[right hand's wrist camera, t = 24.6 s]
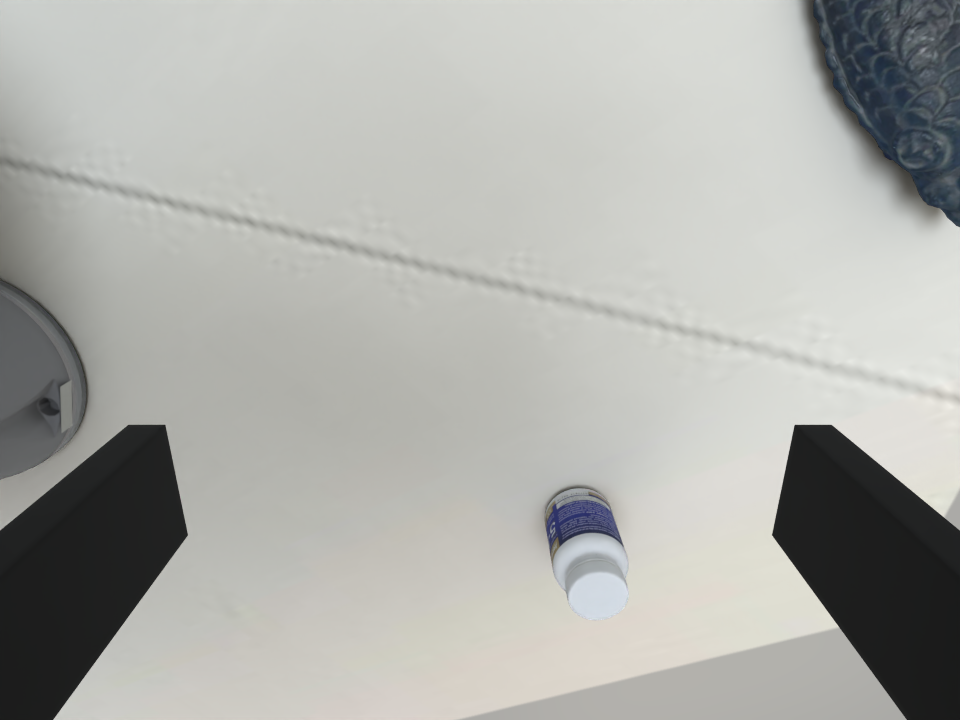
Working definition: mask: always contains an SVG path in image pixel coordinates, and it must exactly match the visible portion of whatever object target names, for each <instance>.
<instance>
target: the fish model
mask: <svg viewBox="0 0 960 720" xmlns="http://www.w3.org/2000/svg"><path fill="white" fill-rule="evenodd" d="M813 7H814V17H815V18H816V19H817V21H818V23H819V28H820V34H819V37H820V39H821V41H822V43H823V44H824V46H825V47H826V51H825V58H826V62H827V66H828V67H829V69H830V70H831V71H832V72H833V74H834V80H833V85H834V87H835V88H836V89H837V90H838V91H839V92H840V93H841V94H842V96H843V99H844V103H845V105H846V106H847V107H848V108H849V109H850V110H851V111H853V112H854V113H856V115H857V116H858V121H859V123H860V125H861V126H863V127H864V128H865V129H866V130H867V131H868V132H869V133H870V134H871V135H872V136H873V137H874V138H875V140H876V142H877V143H878V145H879V146H878V147H879V148H880V149H882V150H883V153H884V155H885V157H886V158H888V159H889V160H894V161H895V162H896V163H897V164H898V165H900V166H901V167H902V168H904V169H905V170H907V171H908V172H909V173H910V174H911V176H912V178H913V180H914V182H915V184H916V187H917V190H918V192H919V195H920V196H921V197H922V199H923V201H925V202H926V203H927V204H928V205H931V206H934V207H937V208H940V209H941V210H942V211H943V212H944V213H945V214H946V216H947V218H948V219H950V220H951V221H952V222H953V223H954V224H955V225H956V226H958V227H960V0H814V4H813Z"/></svg>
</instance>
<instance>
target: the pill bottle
mask: <svg viewBox="0 0 960 720" xmlns="http://www.w3.org/2000/svg"><path fill="white" fill-rule="evenodd" d="M545 525H546V531H547V537H548V543H549V548H550V555H551V561H552V567H553V572H554V576H555V579H556V581H557V582H558V584H559V585H560V587H561V588H562V589H563V590H564V591H566V594H567V598H568V602H569V605H570V607H571V608H572V610H573V611H574V612H575V613H576V614H577V615H579V616H581V617H583V618H585V619H589V620H603V619H607V618H610V617H613V616H614V615H616V614H618V613H619V612H620V611H621V610H622V609H623V608H624V607H625V605H626V603H627V601H628V597H629V591H628V587H627V583H626V580H625V578H626V576H627V573H628V557H627V554H626V551H625V548H624V546H623V543H622V540H621V537H620V534H619V531H618V528H617V525H616V523H615V519H614V516H613V513H612V510H611V507H610V505H609V503H608V502H607V500H606V499H605V498H604V497H603V496H602V495H600V494H599V493H597V492H595V491H593V490H590V489H584V488H576V489H570V490H567V491H564V492H562V493H560V494H559V495H557V496H556V497H555V498H554V499H553V500H552V501H551V502H550V504H549V505H548V507H547V509H546V513H545Z"/></svg>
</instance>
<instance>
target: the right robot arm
mask: <svg viewBox="0 0 960 720" xmlns="http://www.w3.org/2000/svg"><path fill="white" fill-rule="evenodd" d="M85 405H86V384H85V378H84V373H83V370H82V366H81V363H80V361H79V358H78V356H77V353H76V351H75V349H74V347H73V345H72V344H71V342H70V340H69V338H68V337H67V336H66V334H65V333H64V331H63V330H62V328H61V327H60V326H59V325H58V324H57V322H56V321H55V320H54V319H53V318H52V317H51V316H50V315H49V314H48V313H47V312H46V311H45V310H44V309H43V308H42V307H41V306H40V305H39V304H38V303H36V302H35V301H34V300H33V299H31V298H30V297H29V296H27V295H26V294H24V293H23V292H21V291H20V290H18V289H17V288H15V287H13V286H11V285H9V284H7V283H6V282H3V281H1V280H0V479H3V478H6V477H9V476H13V475H16V474H19V473H21V472H24V471H26V470H28V469H30V468H32V467H35V466H37V465H38V464H40V463H42V462H43V461H45V460H46V459H48V458H49V457H50V456H52V455H53V454H54V453H56V452H57V451H58V450H60V449H61V448H62V447H63V446H64V445H65V444H67V443H68V442H69V440H70V439H71V438H72V437H73V435H74V434H75V432H76V431H77V429H78V427H79V425H80V423H81V421H82V418H83V414H84V410H85ZM187 536H188V533H187V529H186V524H185V519H184V514H183V509H182V504H181V499H180V494H179V490H178V485H177V480H176V475H175V470H174V465H173V460H172V455H171V451H170V446H169V441H168V436H167V431H166V426H165V425H128V426H127V427H125V428H124V429H123V430H122V431H121V432H119V433H118V434H117V435H116V436H114V437H113V438H112V439H111V440H110V441H108V442H107V443H106V444H105V445H104V446H102V447H101V448H100V449H99V450H97V451H96V452H95V453H94V454H93V455H91V456H90V457H89V458H88V459H87V460H85V461H84V462H83V463H82V464H80V465H79V466H78V467H77V468H76V469H74V470H73V471H72V472H71V473H70V474H68V475H67V476H66V477H65V478H64V479H62V480H61V481H60V482H59V483H57V484H56V485H55V486H54V487H53V488H51V489H50V490H49V491H48V492H47V493H45V494H44V495H43V496H42V497H40V498H39V499H38V500H37V501H36V502H34V503H33V504H32V505H31V506H30V507H28V508H27V509H26V510H25V511H23V512H22V513H21V514H20V515H19V516H17V517H16V518H15V519H14V520H13V521H11V522H10V523H9V524H8V525H6V526H5V527H4V528H3V529H2V530H0V720H53V719H54V718H55V716H56V715H57V714H58V712H59V711H60V710H61V708H62V707H63V705H64V704H65V703H66V701H67V700H68V699H69V697H70V696H71V695H72V693H73V692H74V690H75V689H76V688H77V686H78V685H79V684H80V682H81V681H82V679H83V678H84V677H85V675H86V674H87V673H88V671H89V670H90V668H91V667H92V666H93V664H94V663H95V662H96V660H97V659H98V658H99V656H100V655H101V653H102V652H103V651H104V649H105V648H106V647H107V645H108V644H109V642H110V641H111V640H112V638H113V637H114V636H115V634H116V633H117V632H118V630H119V629H120V627H121V626H122V625H123V623H124V622H125V621H126V619H127V618H128V616H129V615H130V614H131V612H132V611H133V610H134V608H135V607H136V605H137V604H138V603H139V601H140V600H141V599H142V597H143V596H144V595H145V593H146V592H147V590H148V589H149V588H150V586H151V585H152V584H153V582H154V581H155V579H156V578H157V577H158V575H159V574H160V573H161V571H162V570H163V569H164V567H165V566H166V564H167V563H168V562H169V560H170V559H171V558H172V556H173V555H174V553H175V552H176V551H177V549H178V548H179V547H180V545H181V544H182V543H183V541H184V540H185V538H186V537H187ZM772 536H773V537H774V538H775V540H776V541H777V543H778V544H779V545H780V547H781V548H782V549H783V551H784V552H785V553H786V555H787V556H788V558H789V559H790V560H791V562H792V563H793V564H794V566H795V567H796V569H797V570H798V571H799V573H800V574H801V575H802V577H803V578H804V579H805V581H806V582H807V584H808V585H809V586H810V588H811V589H812V590H813V592H814V593H815V595H816V596H817V597H818V599H819V600H820V601H821V603H822V604H823V605H824V607H825V608H826V610H827V611H828V612H829V614H830V615H831V616H832V618H833V619H834V621H835V622H836V623H837V625H838V626H839V627H840V629H841V630H842V632H843V633H844V634H845V636H846V637H847V638H848V640H849V641H850V642H851V644H852V645H853V647H854V648H855V649H856V651H857V652H858V653H859V655H860V656H861V658H862V659H863V660H864V662H865V663H866V664H867V666H868V667H869V668H870V670H871V671H872V672H873V674H874V675H875V677H876V678H877V679H878V681H879V682H880V684H881V685H882V686H883V688H884V689H885V690H886V692H887V693H888V694H889V696H890V697H891V699H892V700H893V701H894V703H895V704H896V705H897V707H898V708H899V710H900V711H901V712H902V714H903V715H904V716H905V718H906V719H907V720H960V530H958V529H957V528H956V527H955V526H953V525H952V524H951V523H950V522H949V521H947V520H946V519H945V518H944V517H943V516H941V515H940V514H939V513H938V512H937V511H935V510H934V509H933V508H932V507H930V506H929V505H928V504H927V503H926V502H924V501H923V500H922V499H921V498H920V497H918V496H917V495H916V494H915V493H913V492H912V491H911V490H910V489H909V488H907V487H906V486H905V485H904V484H903V483H901V482H900V481H899V480H898V479H896V478H895V477H894V476H893V475H892V474H890V473H889V472H888V471H887V470H886V469H884V468H883V467H882V466H881V465H880V464H878V463H877V462H876V461H875V460H873V459H872V458H871V457H870V456H869V455H867V454H866V453H865V452H864V451H863V450H861V449H860V448H859V447H858V446H856V445H855V444H854V443H853V442H852V441H850V440H849V439H848V438H847V437H846V436H844V435H843V434H842V433H841V432H839V431H838V430H837V429H836V428H835V427H833V426H832V425H795V426H794V431H793V436H792V441H791V446H790V451H789V455H788V460H787V465H786V470H785V475H784V480H783V485H782V490H781V494H780V499H779V504H778V509H777V514H776V519H775V524H774V529H773V533H772Z"/></svg>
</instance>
